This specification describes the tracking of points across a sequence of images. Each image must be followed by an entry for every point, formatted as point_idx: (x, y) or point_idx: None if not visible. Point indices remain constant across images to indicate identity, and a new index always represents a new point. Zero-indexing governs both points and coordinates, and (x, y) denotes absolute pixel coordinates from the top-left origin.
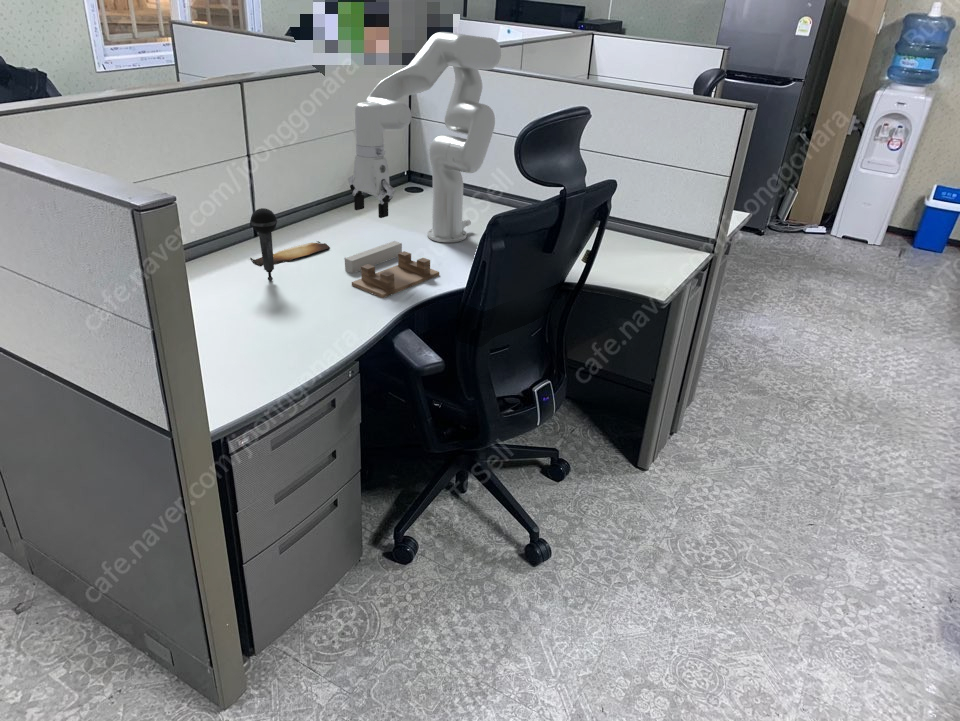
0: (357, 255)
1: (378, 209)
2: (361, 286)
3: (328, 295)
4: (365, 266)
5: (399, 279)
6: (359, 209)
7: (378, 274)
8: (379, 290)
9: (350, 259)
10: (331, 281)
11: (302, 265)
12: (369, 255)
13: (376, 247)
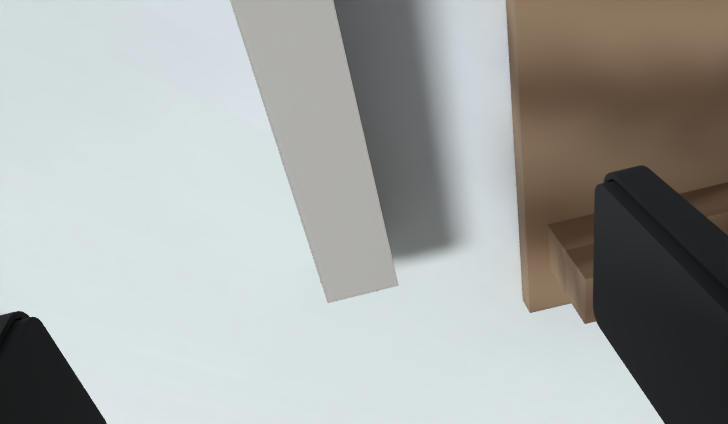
0: (326, 217)
1: (658, 413)
2: None
3: (536, 402)
4: None
5: (707, 88)
6: (82, 388)
7: (550, 156)
8: None
9: (367, 281)
10: (413, 350)
11: (127, 389)
12: (364, 139)
13: (238, 3)
